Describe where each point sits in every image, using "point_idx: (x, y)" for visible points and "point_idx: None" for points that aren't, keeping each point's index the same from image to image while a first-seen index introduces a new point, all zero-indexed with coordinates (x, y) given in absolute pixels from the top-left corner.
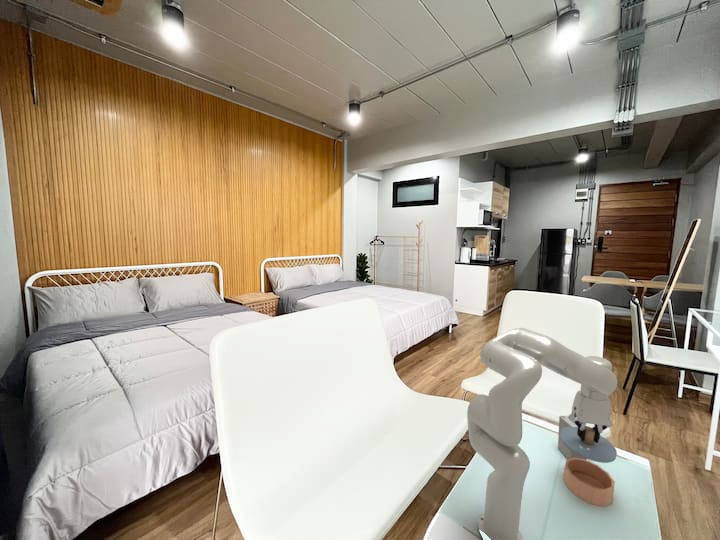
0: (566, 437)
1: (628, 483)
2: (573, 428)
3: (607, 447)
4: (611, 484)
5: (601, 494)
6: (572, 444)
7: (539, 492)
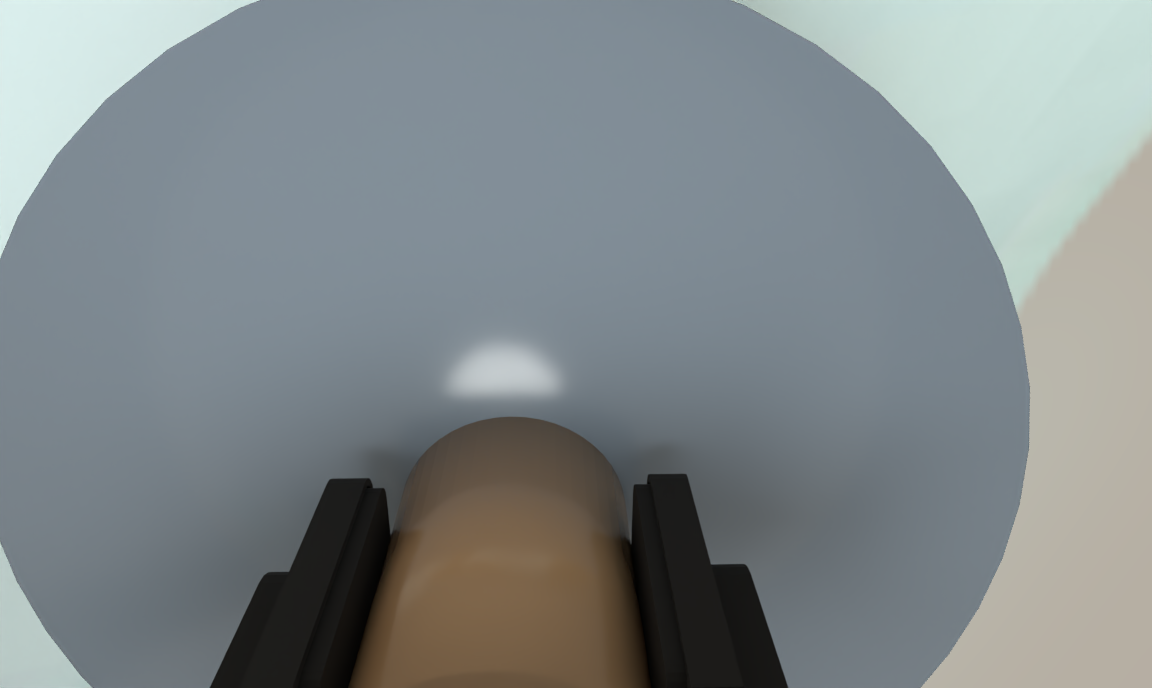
0: (96, 480)
1: (1071, 33)
2: (379, 61)
3: (851, 583)
4: None
5: None
6: (172, 653)
7: None
